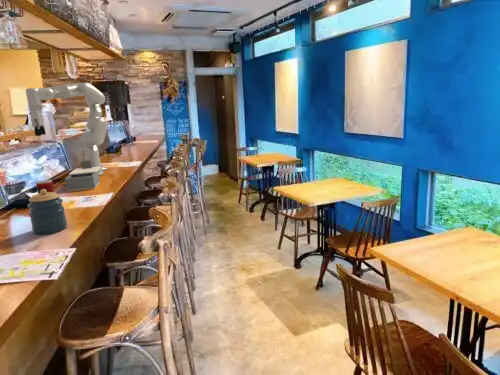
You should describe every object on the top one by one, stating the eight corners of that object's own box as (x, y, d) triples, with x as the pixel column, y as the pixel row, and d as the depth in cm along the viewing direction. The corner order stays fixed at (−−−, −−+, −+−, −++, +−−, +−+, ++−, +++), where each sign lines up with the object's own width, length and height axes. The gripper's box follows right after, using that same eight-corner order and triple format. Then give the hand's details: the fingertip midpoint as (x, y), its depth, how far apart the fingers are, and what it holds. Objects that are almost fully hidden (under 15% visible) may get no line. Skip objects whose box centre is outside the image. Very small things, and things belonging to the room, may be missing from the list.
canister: (59, 222, 164) (52, 184, 160) (73, 227, 156) (66, 187, 152) (27, 231, 155) (19, 190, 150) (40, 237, 147) (32, 194, 142)
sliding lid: (75, 169, 252) (74, 161, 251) (100, 167, 256) (99, 159, 254) (69, 175, 233) (67, 166, 232) (95, 172, 237) (94, 163, 235)
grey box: (74, 184, 244) (72, 172, 242) (99, 182, 247) (98, 170, 245) (67, 191, 225) (64, 178, 223) (95, 188, 228) (93, 176, 226)
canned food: (58, 198, 210) (54, 179, 207) (49, 202, 202) (45, 182, 199) (45, 198, 210) (42, 179, 208) (36, 202, 203) (32, 182, 200)
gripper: (33, 108, 243) (38, 134, 247) (24, 108, 227) (29, 136, 231) (46, 107, 245) (50, 133, 249) (37, 108, 228) (43, 135, 232)
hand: (40, 135), depth 240 cm, fingers open, 9 cm apart
